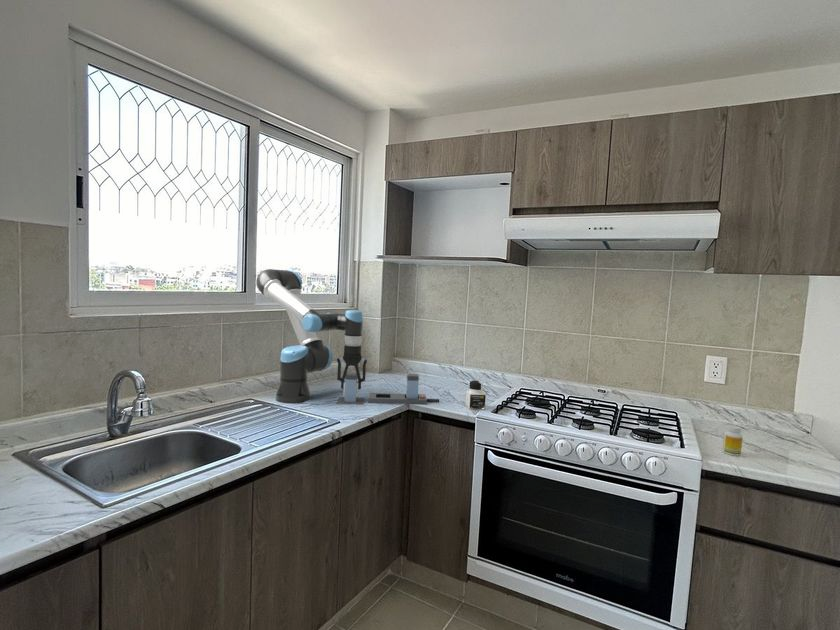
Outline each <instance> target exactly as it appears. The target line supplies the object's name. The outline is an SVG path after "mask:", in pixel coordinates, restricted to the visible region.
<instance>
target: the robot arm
mask: <svg viewBox="0 0 840 630" xmlns="http://www.w3.org/2000/svg"><path fill="white" fill-rule="evenodd" d="M255 282H256V288H257V289H258V291H259V292H260V293H261V294H262V295H263V296H264V297H266V298H268V299H272V301H274V302H276V304H278V305H279V306H280V307H282V308H283V309H285V311H286V313H287V315H288V317H289V321H290V323H291V325H292V327H293V330H294V333H295V335H296V338H297V341H298V343H299V345H291V346H287V347H285V348H283V349H282V350H281V352H280V375H279V379H280V380H279V383H278V386H277V389H276V392H275V400H276V401H277V402H280V403H288V404H292V403H293V404H294V403H295V404H296V403H304V402H305V401H309V400H310V399H311V391H310V388H309V384H308V374H310V373H316V372H323V371H324V370H328V369H329V367H331V365H332V363H333V359H334V354H333V351H332V349H331V348H330V347H329V346H328V345H325V344H324V342H323V340H322V338H321V339H320V338H318V336H317V334H316V333H317V332H324V331H325V332H326V331H343V332H344V346H343V356H342V357H338V358H337V359H336V362H337V376H336V377H337V378H336V379H337V381H338V382H339V381H340V382H341V383H340V388H341V390H343V393H342V397H345V375H346V373H348V370H349V367H350V366H353V367H354V368H355V373H357V387H356V397H359V390H361V388H362V382H365V381H366V375H367V374H366V369H367V368H366V366H367V363H368V359H367V358H365V357H364V358H363V357H362V346H361V345H362V339H363V338H362V337H363V320H364V319H363V312H362V311H360V310H353V309H351V310H350V309H349V310H346V311H345V313H339V312H338V313H337V312H327V313H319V311H316V310H315V309H314V308H312V307H311V306H309V304H307V303H306V302H304V301H303V300H302V298H301V293H302V287H303V279H302V277H301V276H300V274H299V273H297V272H296V271H294V270H290V269H283V270H282V269H273V268H268V269H264V270H263V271H261V272H259V274H258V275H257V278H256V281H255ZM343 361H344V364H345V367H344V371H343V373H342V363H343ZM360 362H361V363H362V376H361V372H360V368H359V363H360ZM341 374H342V375H341ZM341 376H342V377H341Z"/></svg>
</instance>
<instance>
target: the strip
mask: <svg viewBox="0 0 840 630" xmlns="http://www.w3.org/2000/svg"><path fill="white" fill-rule="evenodd" d="M367 399H368V401H367V403H368V404H387V405H388V404H389V405H390V404H392V405H393V404H396V405H397V404H398V405H426V406H427V404H428V403H440V399H439V398H427V396H426V394H421V393H420V394H419V393H418V399H409V398H406V393H385V392H368V397H367Z"/></svg>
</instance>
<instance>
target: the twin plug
mask: <svg viewBox="0 0 840 630" xmlns="http://www.w3.org/2000/svg"><path fill="white" fill-rule="evenodd" d="M419 379H420V377H419V374H418V373H407V374H406V391H405V394H406V398H409V399H418V394H419Z"/></svg>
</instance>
